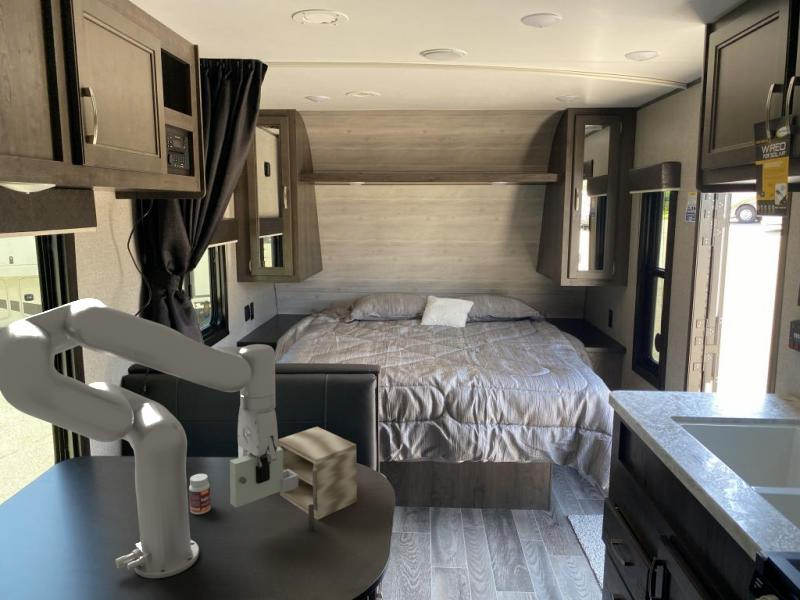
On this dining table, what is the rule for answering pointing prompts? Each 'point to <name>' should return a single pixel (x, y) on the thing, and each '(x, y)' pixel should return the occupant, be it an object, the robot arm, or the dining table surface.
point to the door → (245, 479)
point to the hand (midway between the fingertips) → (259, 478)
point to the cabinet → (320, 472)
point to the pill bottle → (199, 494)
